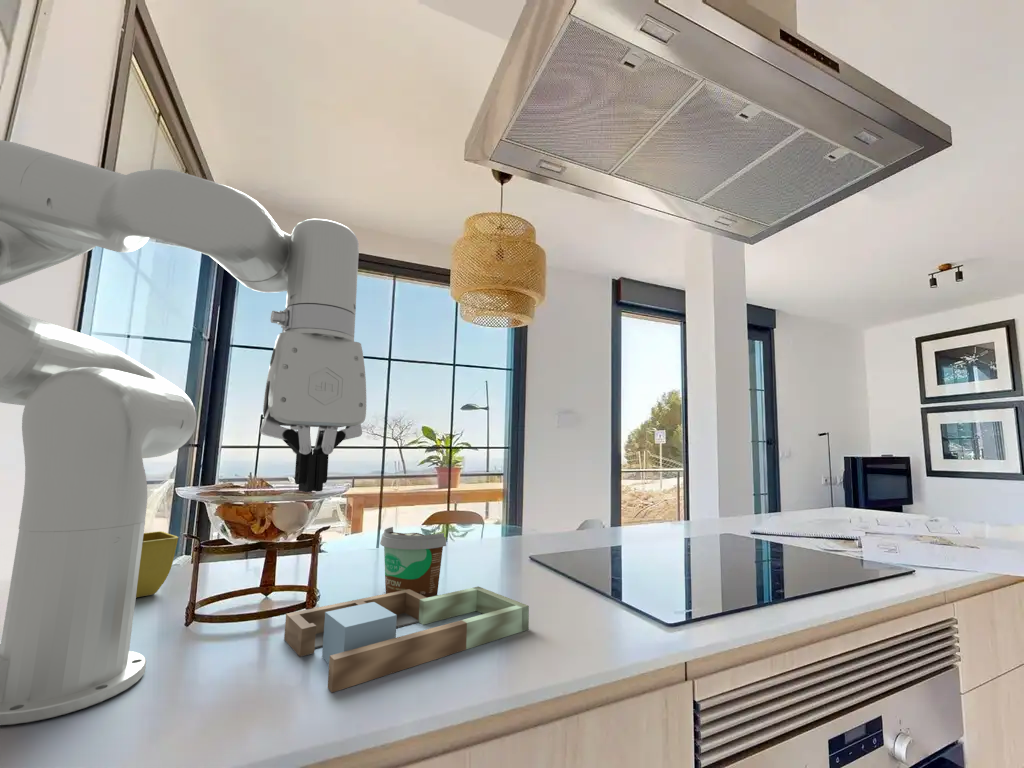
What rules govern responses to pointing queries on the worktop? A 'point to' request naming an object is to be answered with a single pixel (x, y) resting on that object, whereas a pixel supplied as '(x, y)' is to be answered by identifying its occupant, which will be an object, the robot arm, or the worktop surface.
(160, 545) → the flower pot
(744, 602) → the worktop surface
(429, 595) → the food container
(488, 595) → the wood and green frame
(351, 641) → the block
